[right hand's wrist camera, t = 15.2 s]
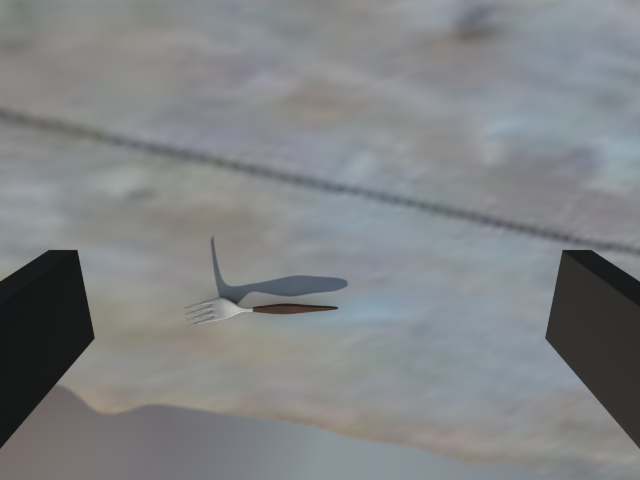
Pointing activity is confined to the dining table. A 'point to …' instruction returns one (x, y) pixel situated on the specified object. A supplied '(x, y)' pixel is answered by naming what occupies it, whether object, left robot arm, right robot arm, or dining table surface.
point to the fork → (249, 309)
